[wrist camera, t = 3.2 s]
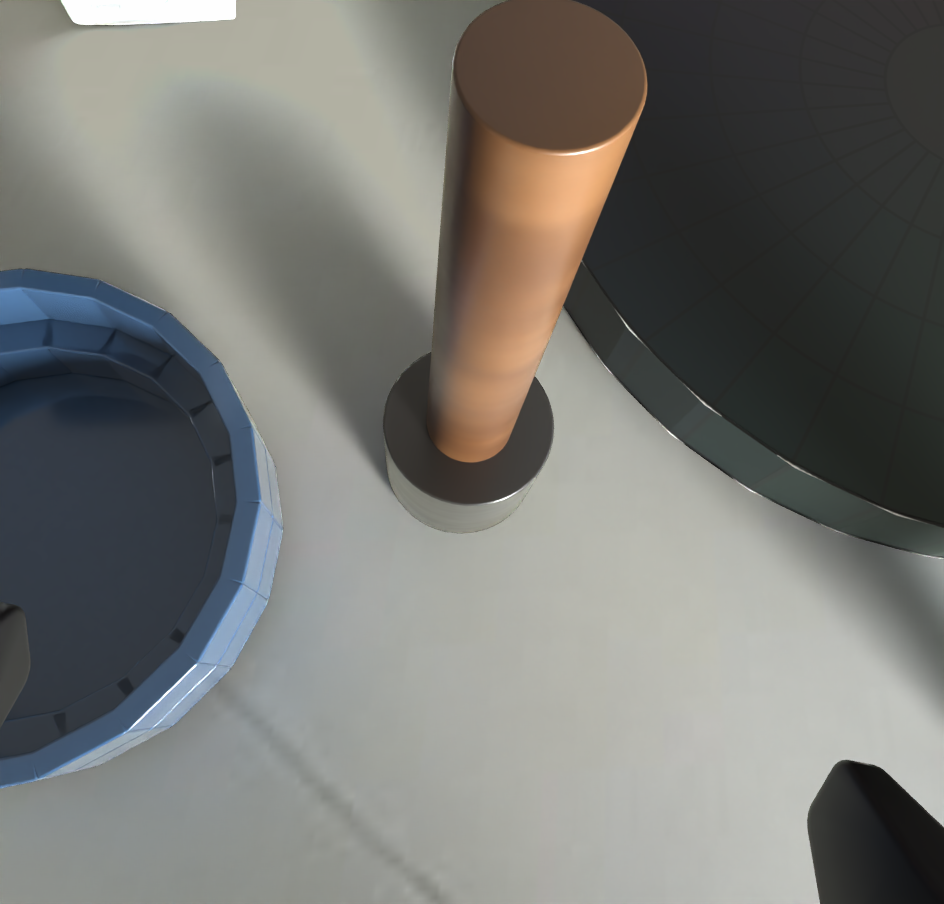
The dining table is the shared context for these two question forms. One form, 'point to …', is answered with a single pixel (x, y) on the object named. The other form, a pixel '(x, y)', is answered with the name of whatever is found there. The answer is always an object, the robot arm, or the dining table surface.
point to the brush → (509, 251)
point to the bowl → (121, 519)
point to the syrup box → (147, 11)
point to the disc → (785, 253)
